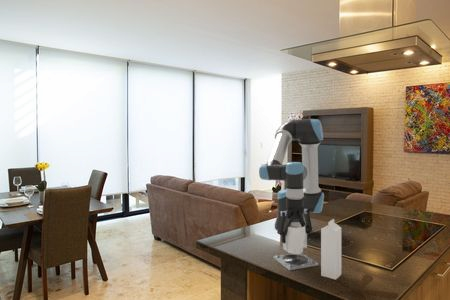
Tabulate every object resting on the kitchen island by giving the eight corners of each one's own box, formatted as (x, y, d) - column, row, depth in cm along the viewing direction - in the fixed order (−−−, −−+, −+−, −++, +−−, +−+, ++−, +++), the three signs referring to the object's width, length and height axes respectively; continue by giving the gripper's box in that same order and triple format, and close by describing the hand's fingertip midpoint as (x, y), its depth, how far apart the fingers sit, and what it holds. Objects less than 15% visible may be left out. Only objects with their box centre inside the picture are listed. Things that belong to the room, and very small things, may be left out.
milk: (341, 274, 128) (342, 220, 127) (335, 280, 123) (336, 223, 122) (326, 270, 132) (327, 217, 131) (320, 275, 127) (320, 220, 126)
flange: (300, 254, 151) (300, 250, 151) (318, 265, 137) (318, 261, 137) (273, 258, 146) (273, 255, 146) (289, 270, 133) (289, 266, 133)
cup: (290, 256, 136) (290, 228, 135) (281, 249, 145) (281, 223, 144) (309, 254, 138) (309, 226, 138) (299, 247, 147) (299, 221, 147)
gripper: (311, 194, 148) (311, 242, 149) (268, 198, 140) (268, 248, 141) (321, 197, 141) (321, 248, 141) (276, 201, 133) (277, 254, 134)
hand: (295, 248), depth 141 cm, fingers closed on cup, 9 cm apart
